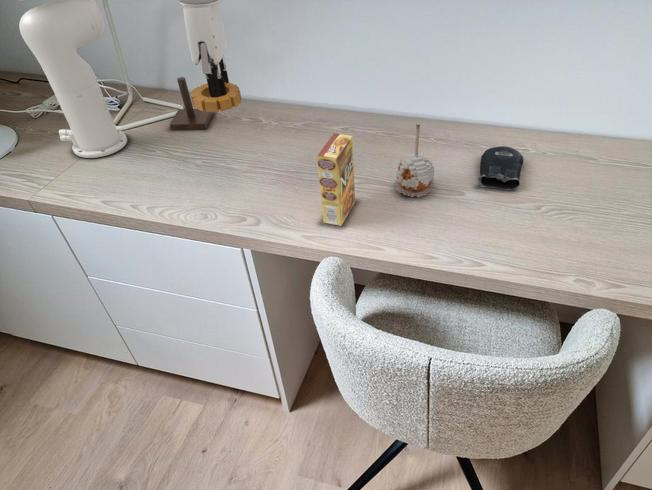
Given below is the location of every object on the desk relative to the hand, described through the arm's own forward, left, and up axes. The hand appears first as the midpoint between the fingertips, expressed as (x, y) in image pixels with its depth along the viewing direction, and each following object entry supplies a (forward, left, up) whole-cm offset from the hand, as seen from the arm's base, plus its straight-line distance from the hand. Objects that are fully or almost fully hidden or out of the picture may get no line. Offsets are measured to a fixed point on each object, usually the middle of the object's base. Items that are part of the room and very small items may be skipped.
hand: (220, 93), depth 99 cm
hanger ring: (0, -3, 0) cm, 3 cm away
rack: (-17, +26, -19) cm, 36 cm away
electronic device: (+59, -2, -19) cm, 62 cm away
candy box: (+23, -16, -19) cm, 34 cm away
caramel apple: (+39, -8, -19) cm, 44 cm away
